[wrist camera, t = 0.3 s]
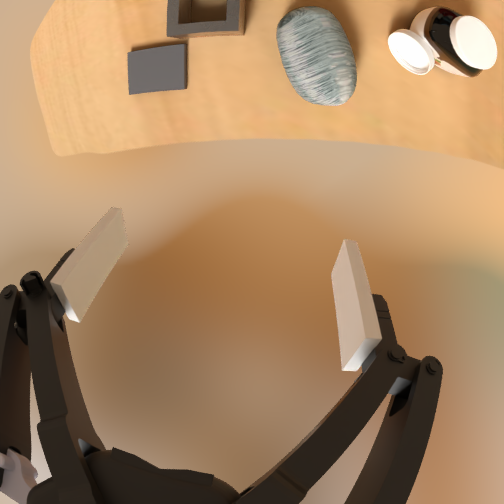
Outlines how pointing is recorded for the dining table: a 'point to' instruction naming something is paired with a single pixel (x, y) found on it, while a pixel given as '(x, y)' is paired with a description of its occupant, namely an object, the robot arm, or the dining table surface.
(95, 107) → the dining table surface
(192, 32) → the block
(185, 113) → the dining table surface
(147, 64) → the rest mat
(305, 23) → the spool
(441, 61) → the spread jar
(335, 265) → the robot arm
